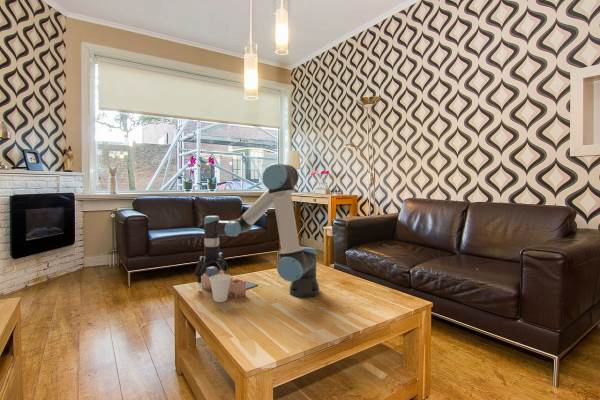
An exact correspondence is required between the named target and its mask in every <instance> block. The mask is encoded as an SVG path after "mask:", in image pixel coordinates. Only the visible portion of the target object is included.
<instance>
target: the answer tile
mask: <svg viewBox="0 0 600 400" xmlns="http://www.w3.org/2000/svg"><path fill="white" fill-rule="evenodd" d="M245 281H246V291H247V290H249V289H252V288H256V287H258V286H259V284H258V283H254V282H251V281H248V280H245Z"/></svg>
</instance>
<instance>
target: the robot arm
mask: <svg viewBox="0 0 600 400" xmlns="http://www.w3.org/2000/svg"><path fill="white" fill-rule="evenodd" d="M299 176H300V175H299V172H298V170H297V169H296V168H295V167H294V166H292V165H290V164H284V163H283V164H282V163H272V164H269V165H267V167H265V168H264V170H263V172H262V177H261V178H262V183H263V185H264V186H265V187H266V188H267V190H265V192H264V193H262V195H261V196H260V197H258V199H256V201H254V203H253V204H252V205H251V206H250V207H249V208H247V210H246V211H245V212H244V213H243V214H242V215H240V217H239V218H237V219H231V220H220V216H219V215H207V216H205V217H204V224H203V229H204V239H203V240H204V241H203V243H204V248H203V249H204V251H203V253H204V256H201V255H200V256H199V257H198V263H197V265H196V267H195V270H194V273H193V276H195V277H197V278H196V279H197V280H196V282H197V283H198V286H197V287H198V289H199V290H204V288H203V274H205V273H204V272H206V268H208V267H209V266H210V265H212V264H217V266H218V267H219V268H220V270H219V274H226V271H227V270H228V269H229V265H228V262H227V261H226V258H225V253H224V252H221V251H220V246H219V245H220V236H227V237H238V236H239V235H240V234H241V233H248V231H251V230H252V228H253V225H254V224H255V223H256V222H257V221H258V220H259V219H260V218H261V217H262V216H263V215H264V214H265V213H266V212H267V211H268V210H269V209H271V207H272V206H273V205H274V212H275V216H276V217H275V218H276V224H277V230H278V236H279V242H280V243H279V244H280V250H279V252H278V257H279V260H278V261H277V263H276V271H277V273H278V275H279V276H280V278H282V279H283V280H284V281H286V282H290V285H289V294H290V296H294V297H297V298H312V296H313V297H316V296H318V295H320V286H319V282H318V279H317V256H318V254H317V249H316V248H315V247H309V246H301V245H300V240H299V235H298V234H299V233H298V229H297V222H296V217H295V216H296V214H295V209H294V203H293V198H292V197H293V196H292V194H293V193H294V190H295V189H294V188H295V186H296V185H298V182H299V178H300V177H299ZM317 294H318V295H317ZM315 295H316V296H315Z"/></svg>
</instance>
